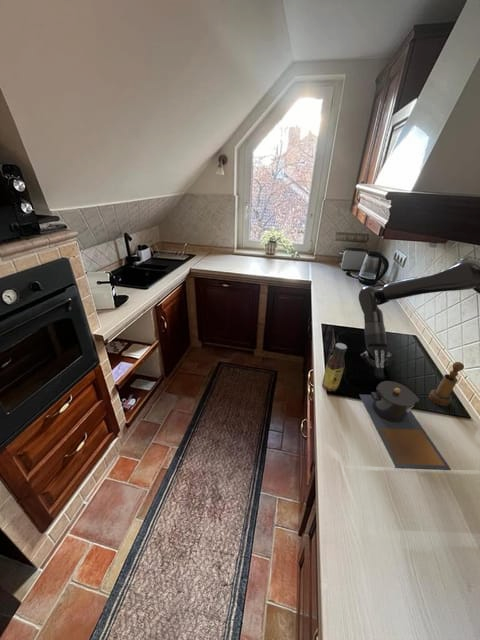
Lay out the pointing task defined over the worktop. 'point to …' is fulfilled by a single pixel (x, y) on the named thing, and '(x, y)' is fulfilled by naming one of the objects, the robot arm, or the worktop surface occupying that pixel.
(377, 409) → the pot
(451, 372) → the wooden pepper mill
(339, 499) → the worktop surface
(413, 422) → the mat
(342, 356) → the sauce bottle
